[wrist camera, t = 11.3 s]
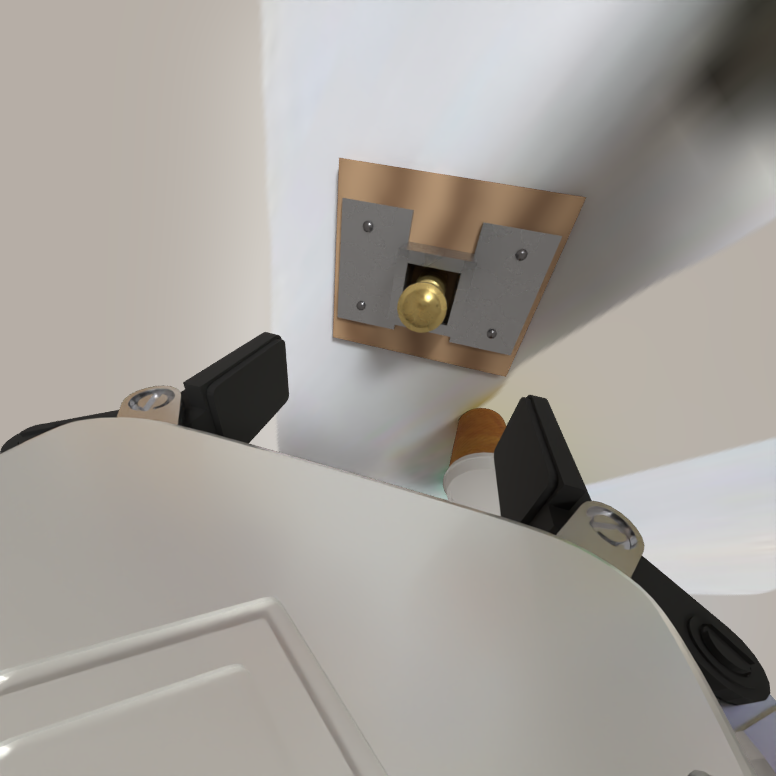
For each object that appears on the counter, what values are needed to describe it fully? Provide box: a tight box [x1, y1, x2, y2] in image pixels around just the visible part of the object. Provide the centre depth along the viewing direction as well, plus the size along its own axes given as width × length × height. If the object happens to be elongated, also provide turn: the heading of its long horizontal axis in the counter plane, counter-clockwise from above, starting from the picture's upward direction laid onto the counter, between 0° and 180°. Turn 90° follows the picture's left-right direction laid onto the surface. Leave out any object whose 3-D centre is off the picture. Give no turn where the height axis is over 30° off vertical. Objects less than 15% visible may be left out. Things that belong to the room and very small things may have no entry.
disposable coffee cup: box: [443, 408, 506, 516], centre depth 35 cm, size 10×10×12 cm
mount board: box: [333, 158, 586, 377], centre depth 30 cm, size 22×18×1 cm
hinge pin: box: [397, 267, 448, 333], centre depth 26 cm, size 4×4×10 cm
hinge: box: [337, 198, 562, 355], centre depth 27 cm, size 21×12×6 cm, turn 81°
